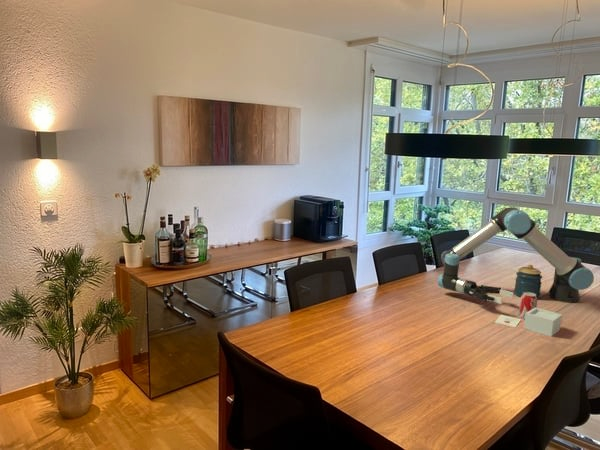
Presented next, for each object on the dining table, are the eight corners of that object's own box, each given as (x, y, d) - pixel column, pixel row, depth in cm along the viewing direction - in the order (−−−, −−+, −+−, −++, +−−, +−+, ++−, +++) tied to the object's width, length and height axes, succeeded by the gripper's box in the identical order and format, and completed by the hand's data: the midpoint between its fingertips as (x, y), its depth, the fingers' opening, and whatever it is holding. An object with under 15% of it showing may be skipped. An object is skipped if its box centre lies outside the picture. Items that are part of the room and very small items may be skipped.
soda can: (525, 321, 217) (528, 296, 215) (515, 315, 224) (518, 291, 222) (538, 319, 219) (541, 295, 217) (527, 314, 226) (530, 291, 223)
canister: (515, 297, 250) (518, 266, 247) (512, 290, 263) (516, 260, 259) (541, 300, 246) (545, 269, 243) (537, 293, 258) (541, 263, 255)
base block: (533, 321, 216) (535, 307, 215) (560, 329, 208) (562, 314, 207) (523, 328, 208) (525, 313, 207) (551, 336, 200) (553, 320, 199)
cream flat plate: (500, 315, 223) (501, 314, 223) (520, 319, 218) (521, 319, 218) (494, 322, 214) (494, 321, 214) (515, 327, 209) (515, 326, 209)
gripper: (476, 289, 251) (516, 299, 236) (454, 298, 234) (495, 310, 219) (478, 276, 250) (518, 286, 235) (455, 284, 233) (497, 296, 218)
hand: (507, 298), depth 227 cm, fingers open, 13 cm apart
